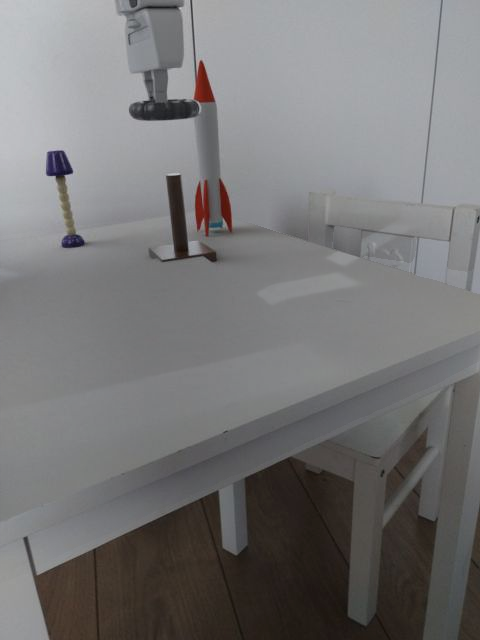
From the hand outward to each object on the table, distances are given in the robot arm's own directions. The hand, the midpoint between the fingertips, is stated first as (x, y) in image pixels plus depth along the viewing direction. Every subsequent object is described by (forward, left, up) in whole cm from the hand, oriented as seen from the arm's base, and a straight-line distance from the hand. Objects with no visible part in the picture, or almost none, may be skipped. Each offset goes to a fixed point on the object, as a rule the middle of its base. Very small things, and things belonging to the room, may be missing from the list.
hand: (158, 104), depth 88 cm
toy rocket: (+11, +11, -24) cm, 29 cm away
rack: (0, -4, -24) cm, 24 cm away
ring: (0, -4, -1) cm, 4 cm away
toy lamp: (-15, +17, -24) cm, 33 cm away
